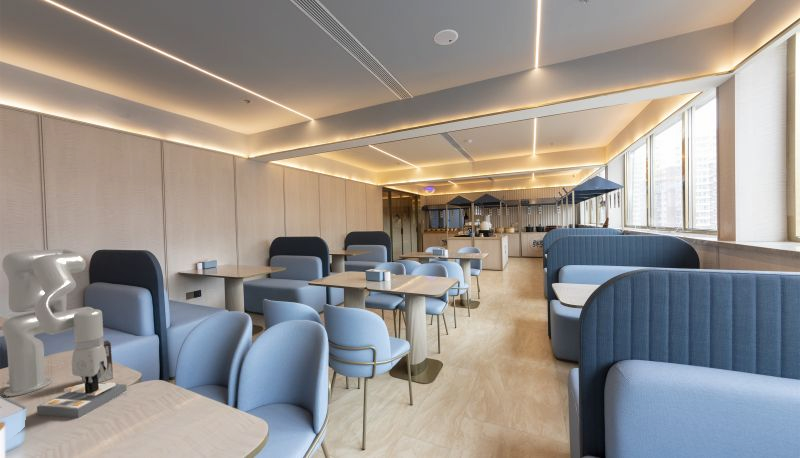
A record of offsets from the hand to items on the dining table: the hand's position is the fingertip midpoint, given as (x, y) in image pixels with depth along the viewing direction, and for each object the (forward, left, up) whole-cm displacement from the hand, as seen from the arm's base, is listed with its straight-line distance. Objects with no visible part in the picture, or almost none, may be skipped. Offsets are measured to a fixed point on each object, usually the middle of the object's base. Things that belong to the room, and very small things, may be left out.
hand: (92, 391), depth 111 cm
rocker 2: (-5, +3, -1) cm, 6 cm away
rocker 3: (0, +3, -1) cm, 3 cm away
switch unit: (-5, +1, -5) cm, 8 cm away
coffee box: (-19, +16, -6) cm, 26 cm away
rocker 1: (-11, +3, -1) cm, 11 cm away
